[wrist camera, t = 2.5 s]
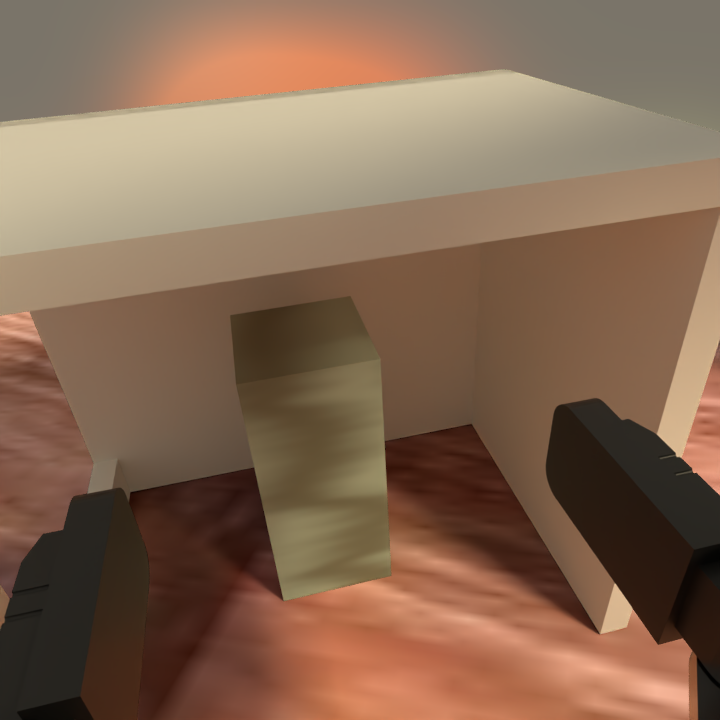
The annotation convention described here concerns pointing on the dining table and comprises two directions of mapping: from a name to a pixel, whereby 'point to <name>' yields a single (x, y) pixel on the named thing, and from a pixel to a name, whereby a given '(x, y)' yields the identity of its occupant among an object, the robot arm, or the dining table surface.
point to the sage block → (316, 441)
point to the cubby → (372, 268)
